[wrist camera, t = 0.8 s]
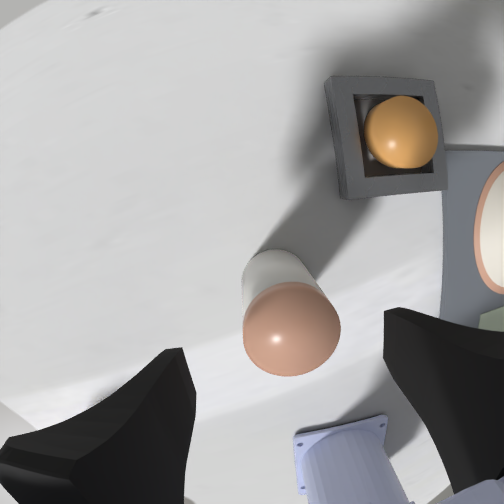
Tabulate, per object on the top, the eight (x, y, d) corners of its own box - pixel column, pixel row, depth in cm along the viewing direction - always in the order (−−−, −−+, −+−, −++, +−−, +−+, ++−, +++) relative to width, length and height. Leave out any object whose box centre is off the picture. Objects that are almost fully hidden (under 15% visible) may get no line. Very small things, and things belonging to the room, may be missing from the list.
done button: (425, 166, 17) (441, 166, 15) (368, 170, 17) (381, 170, 15) (416, 102, 16) (431, 97, 14) (358, 101, 16) (370, 94, 14)
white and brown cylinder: (309, 306, 20) (341, 366, 13) (246, 316, 20) (250, 382, 13) (304, 244, 19) (338, 282, 12) (237, 254, 19) (235, 298, 12)
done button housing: (435, 188, 18) (448, 189, 17) (340, 197, 18) (348, 199, 17) (421, 85, 17) (433, 80, 15) (323, 83, 17) (330, 76, 15)
